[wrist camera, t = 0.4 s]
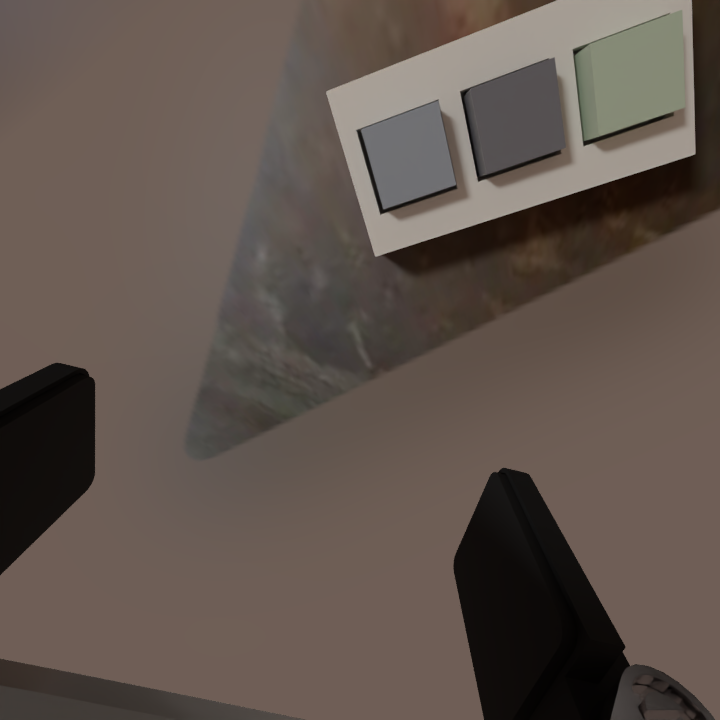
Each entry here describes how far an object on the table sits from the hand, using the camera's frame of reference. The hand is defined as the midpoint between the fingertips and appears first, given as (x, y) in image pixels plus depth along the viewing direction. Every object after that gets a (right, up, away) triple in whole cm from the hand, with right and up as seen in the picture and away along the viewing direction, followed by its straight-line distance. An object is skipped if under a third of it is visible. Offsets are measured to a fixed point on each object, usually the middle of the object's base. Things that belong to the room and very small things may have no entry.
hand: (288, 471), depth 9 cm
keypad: (+12, +20, +21) cm, 31 cm away
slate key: (+5, +17, +19) cm, 26 cm away
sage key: (+18, +21, +17) cm, 32 cm away
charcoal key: (+12, +19, +18) cm, 29 cm away
